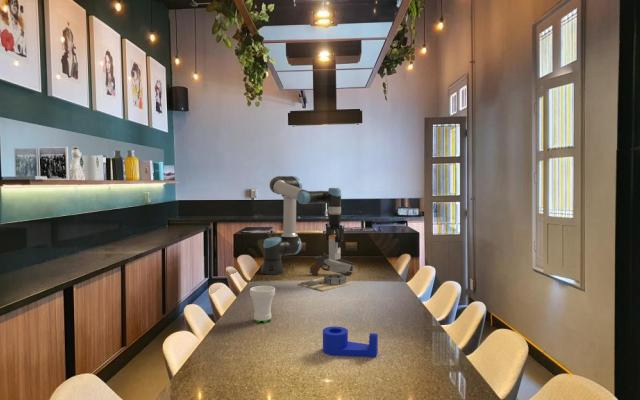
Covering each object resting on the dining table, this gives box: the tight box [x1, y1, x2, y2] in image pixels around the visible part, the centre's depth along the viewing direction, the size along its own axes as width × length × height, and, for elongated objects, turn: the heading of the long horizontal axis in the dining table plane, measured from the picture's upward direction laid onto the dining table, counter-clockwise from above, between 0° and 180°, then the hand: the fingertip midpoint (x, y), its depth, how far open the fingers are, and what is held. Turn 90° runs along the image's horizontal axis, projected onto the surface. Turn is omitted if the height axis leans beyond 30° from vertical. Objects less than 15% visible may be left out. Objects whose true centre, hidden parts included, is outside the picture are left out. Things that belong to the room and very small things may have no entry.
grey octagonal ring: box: [323, 273, 347, 285], centre depth 256 cm, size 13×13×4 cm
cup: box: [249, 285, 276, 324], centre depth 188 cm, size 11×11×14 cm
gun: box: [308, 252, 355, 277], centre depth 280 cm, size 5×27×15 cm, turn 89°
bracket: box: [322, 325, 379, 358], centre depth 154 cm, size 20×9×8 cm, turn 76°
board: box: [296, 276, 355, 292], centre depth 255 cm, size 22×26×1 cm
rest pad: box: [300, 279, 322, 286], centre depth 254 cm, size 9×9×1 cm
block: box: [328, 234, 342, 260], centre depth 255 cm, size 5×5×14 cm
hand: (334, 252), depth 256 cm, fingers closed on block, 5 cm apart
